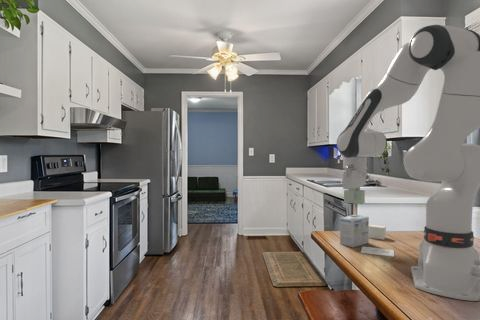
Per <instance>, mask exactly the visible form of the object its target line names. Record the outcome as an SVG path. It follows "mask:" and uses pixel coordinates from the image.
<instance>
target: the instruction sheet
mask: <svg viewBox="0 0 480 320" xmlns="http://www.w3.org/2000/svg"><path fill="white" fill-rule="evenodd" d="M361 246H362V247H361V250H360V253H361V254H368V255H376V256H382V257H390V258H391V257H392V258H395V250H394V249H388V248H387V249H386V248H380V247H379V248H377V247H370V246H363V245H361Z"/></svg>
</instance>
